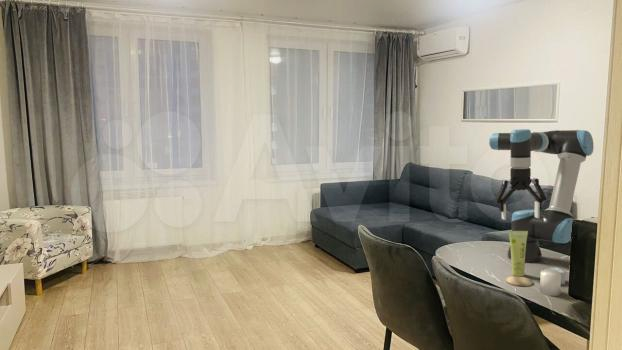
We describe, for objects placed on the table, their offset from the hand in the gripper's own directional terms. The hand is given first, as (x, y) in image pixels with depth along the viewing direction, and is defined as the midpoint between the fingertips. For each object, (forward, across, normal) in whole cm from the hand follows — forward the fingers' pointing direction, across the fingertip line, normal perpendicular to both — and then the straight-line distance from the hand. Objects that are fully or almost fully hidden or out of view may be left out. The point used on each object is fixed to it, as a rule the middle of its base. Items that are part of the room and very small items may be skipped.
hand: (520, 218), depth 188 cm
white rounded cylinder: (+26, -5, +16) cm, 31 cm away
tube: (+26, -1, -5) cm, 27 cm away
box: (+26, -12, +4) cm, 29 cm away
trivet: (+26, +2, +4) cm, 26 cm away
